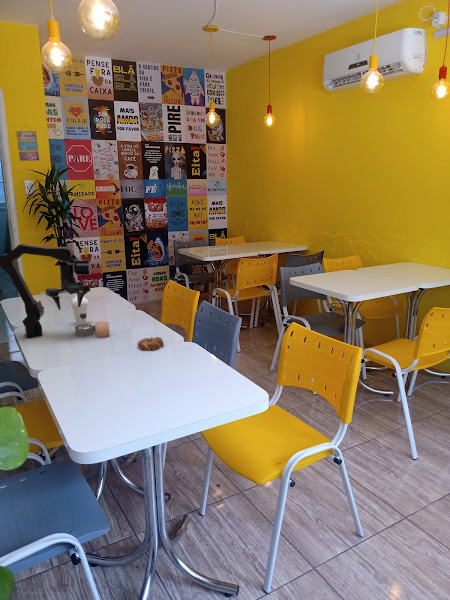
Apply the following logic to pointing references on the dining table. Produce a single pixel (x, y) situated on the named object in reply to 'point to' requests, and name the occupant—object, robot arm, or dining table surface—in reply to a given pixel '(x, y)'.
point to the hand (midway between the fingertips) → (69, 308)
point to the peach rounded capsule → (102, 329)
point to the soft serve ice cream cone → (79, 309)
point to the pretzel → (150, 343)
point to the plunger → (83, 322)
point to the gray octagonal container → (85, 331)
